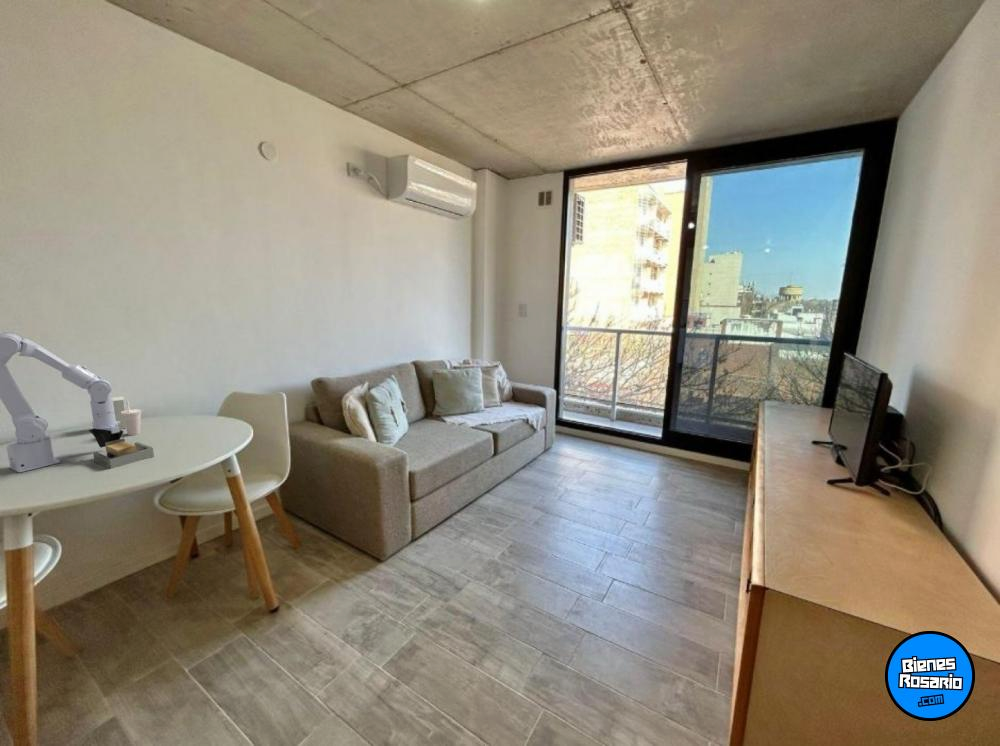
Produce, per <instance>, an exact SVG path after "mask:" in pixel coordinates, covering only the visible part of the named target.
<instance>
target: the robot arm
mask: <svg viewBox="0 0 1000 746" xmlns="http://www.w3.org/2000/svg"><path fill="white" fill-rule="evenodd" d="M17 353H19V354H18V356H20V357H27V358H28V357H29V358H34V359H36V360H38V361H40V362H42V363H44V364H45V365H48V366H50V367H51V368H53V369H55V370H57V371H59V372H61V377H62V378H63V379H64V380H67V381H68V382H69V383H72V384H73V385H75V386H77V387H79V388H80V389H84V390H87V393H88V394H89V395H90V401H89V402H90V403H89V404H90V408H91V415H92V416H91V417H92V420H93V421H92V422H91V424H92V428H91V429H89V432H90V433H91V434H92V435H93V437H94V438H95V440H96V442H97V444H98V447H99V448H106V447H105V443H106V442H110V441H114V440H119V439H122V435H123V434H124V430H123V429H119V427H118V426H117V424H120V422H119V421H116V419H115V412H114V405H113V399H112V398H113V397H112V396H113V395H112V393H111V392H112V385H111V383H110V381H108V380H107V378H104V377H102V376H101V375H96V374H95V373H93V372H92V371H90V370H88V367H87V366H85V365H80V364H71V363H68V362H66V361H65V360H63V359H62V358H60V357H59V356H57V355H55V354H54V353H52V352H50V351H49V350H48V349H46V348H44V347H43V346H41V345H39V344H37V343H36V342H34V341H32V340H30V339H28V338H24V337H23V336H22V335H20V334H18V333H14V332H2V333H0V401H1V402H2V404H3V405H4V408H6V410H7V412H8V413H9V414H10V416H11V421H12V424H13V426H14V427H15V431H14V434H15V435H14V436H15V437H16V438H17V441H16V442H14V443H11V444H10V443H9V444H8V445H6V452H7V457H8V463H9V468H10V469H11V470H13V471H14V472H16V473H17V472H18V473H23V472H27V471H28V472H29V471H30V470H31V471H32V470H36V469H39V468H43V467H47V466H52V465H55V464H56V465H57V464H60V462H61V461H60V460H58V459H56V458H55V455H54V450H53V445H52V439H51V435H50V434H48V432H46V431H47V429H48V427H49V424H48V423H49V422H47V420H46V419H45V418H43V417H41V416H40V415H39V413H38V412H37V411H36V410H35V409H34V408H32V406H31V404H30V402H29V400H27V398H26V395H24V393H23V391H22V389H21V387H20V386H19V384H18V383H17V381H16V380H15V378H14V377H13V375H12V373H11V371H10V370H9V368H8V367H7V363H9V361H10V360H11V359H12V357H13V356H14V355H16V354H17Z"/></svg>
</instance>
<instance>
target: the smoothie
mask: <svg viewBox="0 0 1000 746" xmlns="http://www.w3.org/2000/svg"><path fill="white" fill-rule="evenodd" d="M126 404H127V409H125V411H122V412H121V415H122V418H123V421H124V424H125V427H126V428H125V430H126V433H127V435H128V436H136V435H139V434H141V414H142V409H140V408H139V409H138V408H136V409H135V408H134V409H130V402H129V400H127V401H126Z"/></svg>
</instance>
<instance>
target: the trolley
mask: <svg viewBox="0 0 1000 746" xmlns="http://www.w3.org/2000/svg"><path fill="white" fill-rule="evenodd" d="M104 448H105V452H106V456H107V457H110V458H113V457H117V456H121V455H125V454H129V453H132V452H136V451H137V449H136V445H135V443H134V444H133V443H130V442H129V441H126V439H125V438H124V437H123V438H120V439H119V440H114V441H110V442H106V443H105V447H104Z"/></svg>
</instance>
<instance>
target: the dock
mask: <svg viewBox="0 0 1000 746" xmlns="http://www.w3.org/2000/svg"><path fill="white" fill-rule="evenodd" d="M134 445H136V449H137V451H136V452H132V453H129V454H125V455H121V456H117V457H113V458H110V457H107V455H105V454H102V453H99V452H98V451H96V452H93V453H92V456H93V462H94V463H96V464H98V465H101V466H102V467H106V468H108V469H114V468H117V467H120V466H121V467H123V466H125V465H129V464H131V463H135V462H141V461H142V460H146V459H149V458H153V457H155V454H154V447H152V446H150V445H147V444H145V443H142V442H139V441H138V442H137V441H136V442H134Z"/></svg>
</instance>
